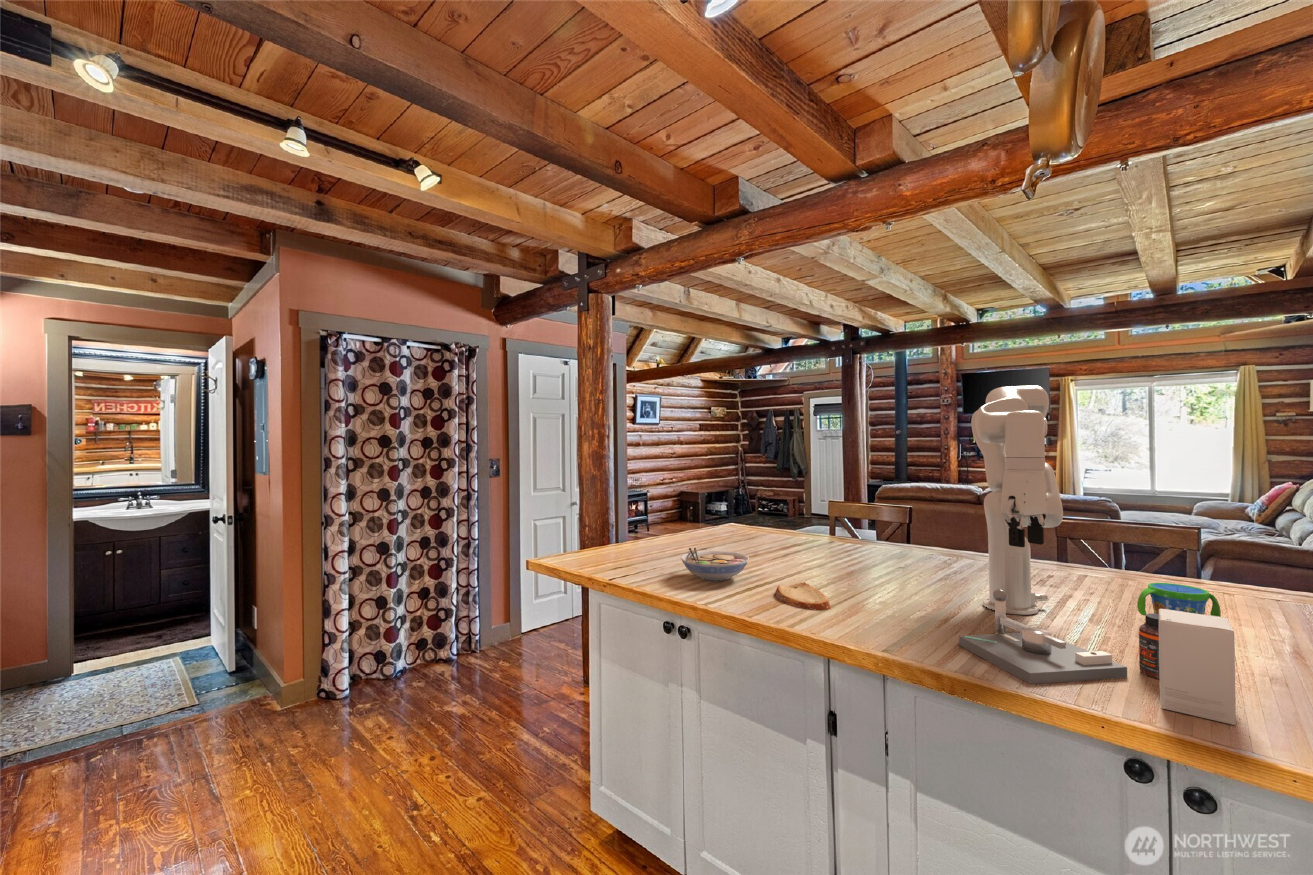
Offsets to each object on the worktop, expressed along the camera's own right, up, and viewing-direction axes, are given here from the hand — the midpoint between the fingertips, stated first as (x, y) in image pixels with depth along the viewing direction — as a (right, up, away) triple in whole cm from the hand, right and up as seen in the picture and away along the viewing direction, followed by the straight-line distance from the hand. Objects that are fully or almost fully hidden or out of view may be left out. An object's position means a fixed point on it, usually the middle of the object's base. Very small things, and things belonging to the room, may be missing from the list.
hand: (1026, 544), depth 125 cm
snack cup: (+39, -22, +5) cm, 45 cm away
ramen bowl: (-64, -23, +59) cm, 90 cm away
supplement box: (+7, -21, -32) cm, 39 cm away
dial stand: (-6, -22, -11) cm, 25 cm away
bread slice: (-41, -23, +35) cm, 59 cm away
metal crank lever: (-6, -19, -9) cm, 22 cm away
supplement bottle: (+12, -22, -19) cm, 32 cm away
